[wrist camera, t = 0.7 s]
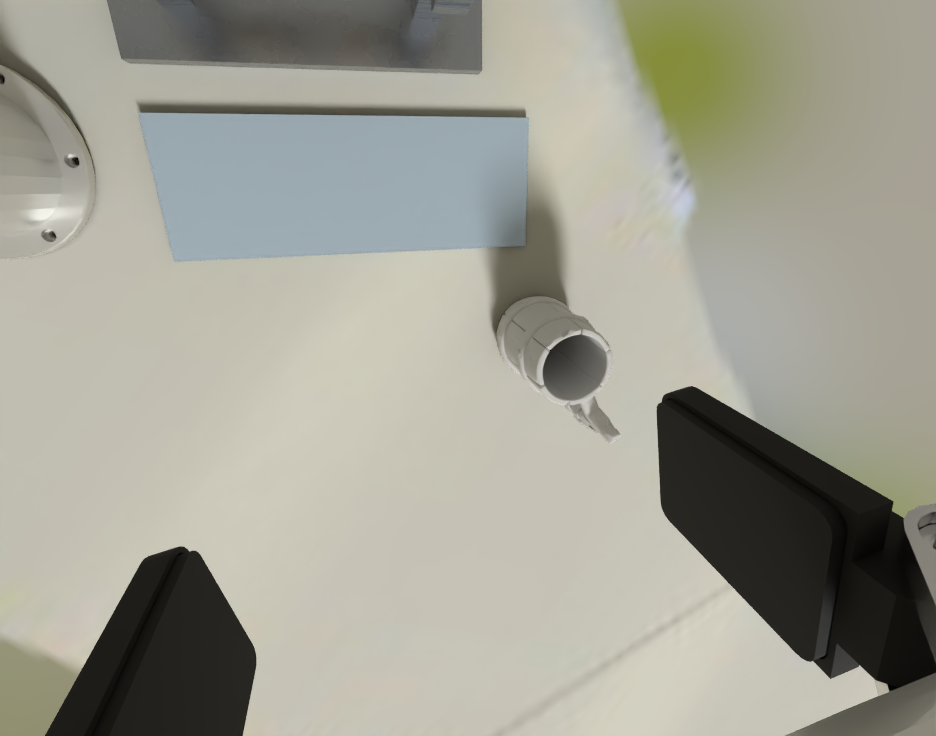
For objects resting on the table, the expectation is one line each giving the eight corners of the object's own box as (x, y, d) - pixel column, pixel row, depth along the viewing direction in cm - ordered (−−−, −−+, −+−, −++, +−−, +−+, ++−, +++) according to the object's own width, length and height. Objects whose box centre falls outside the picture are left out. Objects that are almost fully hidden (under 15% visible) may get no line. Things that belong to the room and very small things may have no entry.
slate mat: (176, 260, 36) (174, 261, 35) (141, 113, 32) (138, 112, 32) (523, 245, 41) (525, 246, 41) (526, 118, 38) (528, 117, 37)
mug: (550, 277, 43) (616, 307, 32) (594, 376, 48) (664, 432, 37) (479, 318, 43) (521, 363, 32) (530, 414, 48) (582, 481, 37)
